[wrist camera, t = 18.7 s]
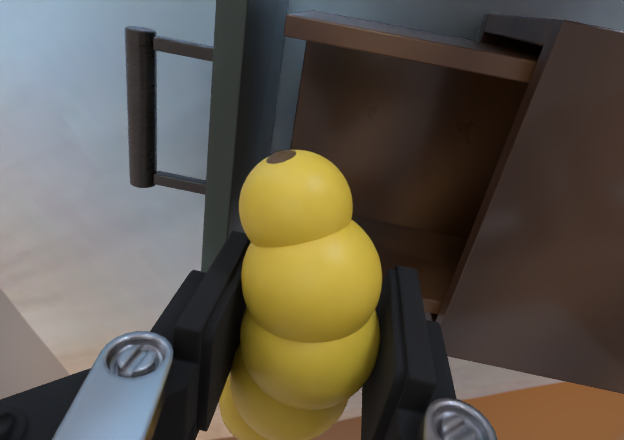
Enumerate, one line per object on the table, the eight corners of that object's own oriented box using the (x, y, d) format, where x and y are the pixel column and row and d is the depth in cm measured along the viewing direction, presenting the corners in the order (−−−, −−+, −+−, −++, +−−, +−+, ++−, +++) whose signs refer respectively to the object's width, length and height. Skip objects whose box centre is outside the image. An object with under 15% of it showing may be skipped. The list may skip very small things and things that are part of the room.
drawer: (168, 190, 30) (95, 258, 22) (170, -34, 23) (69, -53, 16) (470, 253, 29) (507, 346, 21) (555, 39, 23) (654, 58, 15)
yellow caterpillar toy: (345, 409, 14) (339, 521, 11) (230, 384, 14) (192, 488, 11) (421, 159, 10) (444, 226, 7) (259, 126, 10) (213, 179, 7)
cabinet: (411, 242, 30) (430, 352, 21) (484, 13, 23) (563, 19, 14) (649, 291, 30) (782, 428, 20) (796, 71, 23) (1102, 120, 13)
